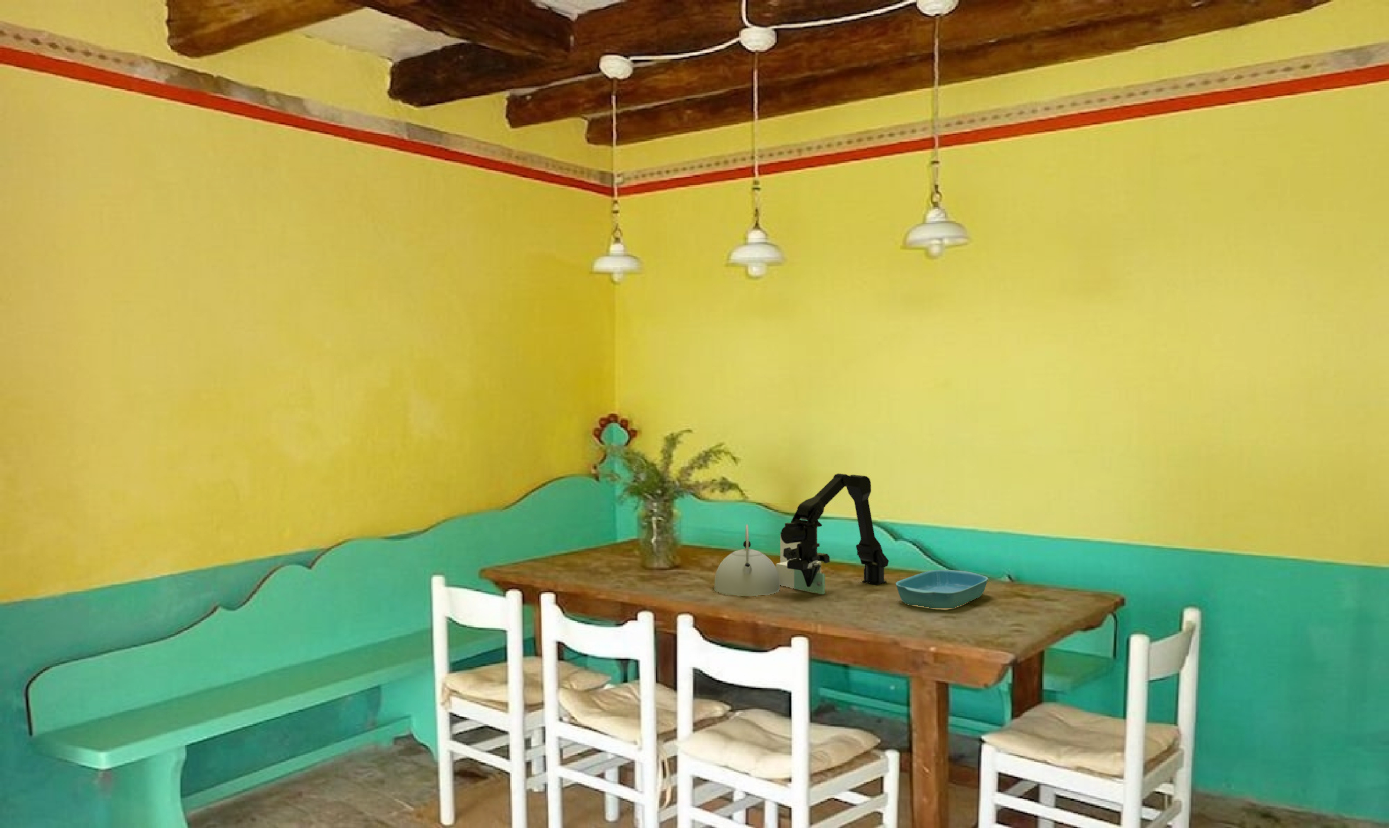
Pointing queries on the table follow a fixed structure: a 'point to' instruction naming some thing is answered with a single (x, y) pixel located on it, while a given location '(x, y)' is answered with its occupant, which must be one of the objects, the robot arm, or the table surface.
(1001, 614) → the table surface
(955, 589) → the casserole dish
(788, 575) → the cupboard
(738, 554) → the kettle
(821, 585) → the door
